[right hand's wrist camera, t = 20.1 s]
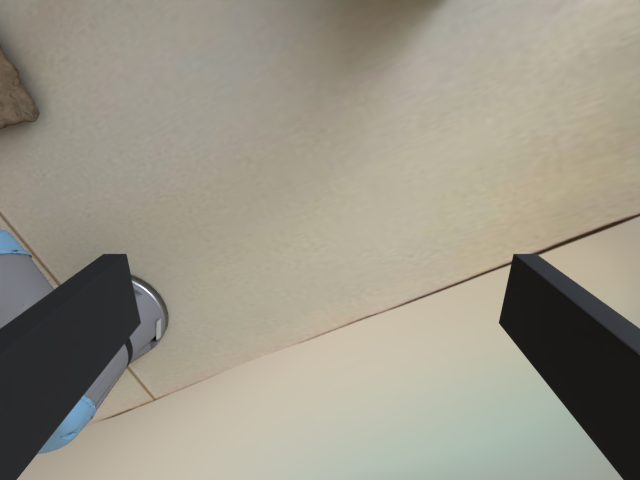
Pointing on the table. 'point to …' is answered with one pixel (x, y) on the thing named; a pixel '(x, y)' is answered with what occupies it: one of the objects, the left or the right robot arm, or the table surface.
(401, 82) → the table surface
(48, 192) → the table surface
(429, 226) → the table surface
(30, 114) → the stone
